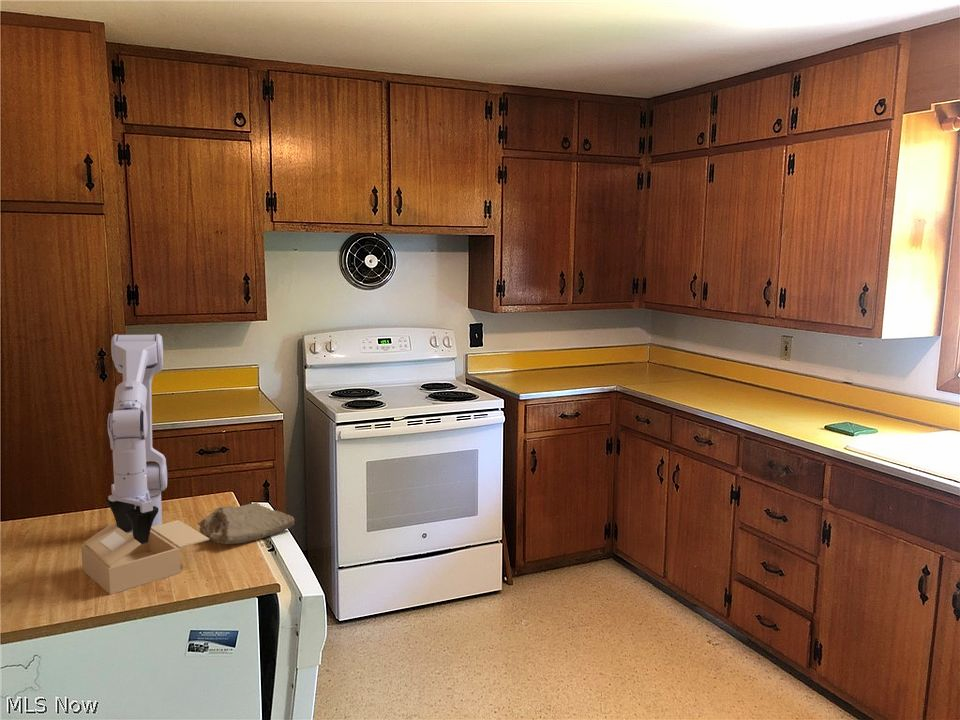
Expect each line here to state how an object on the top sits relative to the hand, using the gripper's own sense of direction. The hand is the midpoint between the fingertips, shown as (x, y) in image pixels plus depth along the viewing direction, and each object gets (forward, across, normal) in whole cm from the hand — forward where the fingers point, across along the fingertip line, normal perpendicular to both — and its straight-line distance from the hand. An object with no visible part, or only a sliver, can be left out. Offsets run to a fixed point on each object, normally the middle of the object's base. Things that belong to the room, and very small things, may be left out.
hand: (133, 537), depth 143 cm
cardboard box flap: (0, 0, -4) cm, 4 cm away
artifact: (+7, -3, +25) cm, 26 cm away
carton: (+7, 0, +2) cm, 7 cm away
